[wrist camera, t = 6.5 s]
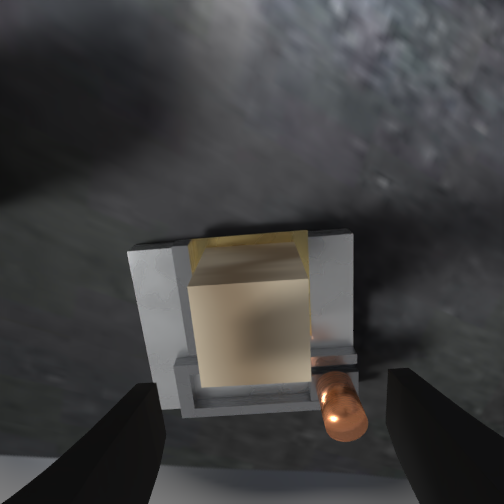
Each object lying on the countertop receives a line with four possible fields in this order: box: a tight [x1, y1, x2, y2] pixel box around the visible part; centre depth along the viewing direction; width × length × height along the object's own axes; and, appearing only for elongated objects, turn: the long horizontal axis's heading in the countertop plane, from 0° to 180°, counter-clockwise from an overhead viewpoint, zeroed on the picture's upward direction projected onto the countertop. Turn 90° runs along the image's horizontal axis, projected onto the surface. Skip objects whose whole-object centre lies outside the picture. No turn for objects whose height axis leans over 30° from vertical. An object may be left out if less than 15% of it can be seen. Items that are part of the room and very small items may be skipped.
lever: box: [308, 364, 368, 442], centre depth 18 cm, size 3×2×4 cm
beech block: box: [187, 242, 311, 388], centre depth 16 cm, size 4×4×5 cm
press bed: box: [127, 228, 357, 418], centre depth 19 cm, size 12×10×2 cm
